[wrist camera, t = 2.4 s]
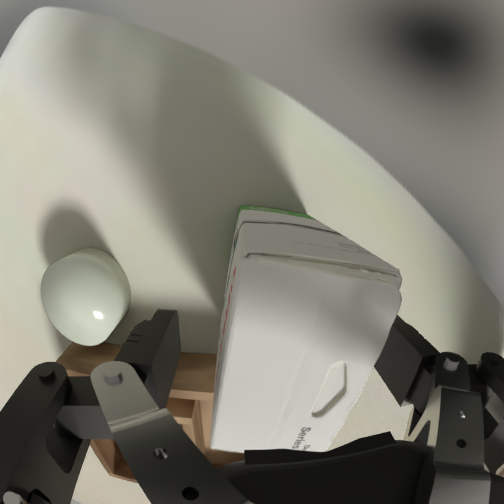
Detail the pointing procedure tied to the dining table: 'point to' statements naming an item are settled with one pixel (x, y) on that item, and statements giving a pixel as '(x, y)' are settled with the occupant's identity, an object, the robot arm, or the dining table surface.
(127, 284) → the white domed round part
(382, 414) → the dining table surface
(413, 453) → the robot arm
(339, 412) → the ink box
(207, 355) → the organizer
